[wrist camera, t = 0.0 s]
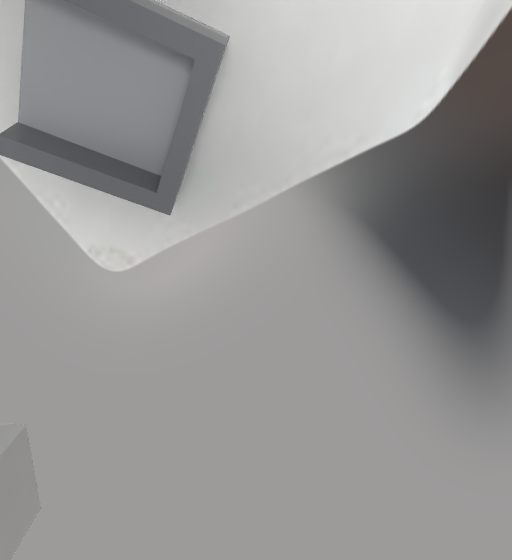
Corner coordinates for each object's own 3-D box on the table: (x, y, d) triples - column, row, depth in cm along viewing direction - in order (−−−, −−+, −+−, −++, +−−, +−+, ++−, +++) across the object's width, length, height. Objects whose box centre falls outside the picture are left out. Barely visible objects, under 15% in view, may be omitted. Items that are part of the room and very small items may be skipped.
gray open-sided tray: (22, 135, 33) (-3, 153, 30) (36, -56, 26) (4, -59, 23) (178, 193, 36) (170, 215, 33) (229, 36, 29) (225, 45, 26)
